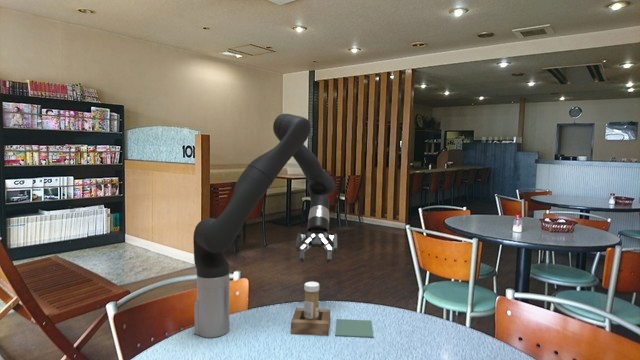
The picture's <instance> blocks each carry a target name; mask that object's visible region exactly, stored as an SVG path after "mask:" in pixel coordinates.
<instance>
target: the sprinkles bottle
mask: <svg viewBox="0 0 640 360" xmlns="http://www.w3.org/2000/svg"><path fill="white" fill-rule="evenodd" d="M303 287H304V307H303V308H304V316H305V320H318V319H319V309H320V308H319V304H320V302H319V301H320V300H319V295H320V294H319V293H320V283H319V282H317V281H306V282H305V283H304V285H303Z"/></svg>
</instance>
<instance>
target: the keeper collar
mask: <svg viewBox="0 0 640 360" xmlns="http://www.w3.org/2000/svg"><path fill="white" fill-rule="evenodd" d="M304 308H305V307H296V308H295V310H294V313H293V315H292V318H291V321H290V335H301V336H302V335H305V336H306V335H308V336H324V337H325V336H327V337H328V336H329V335H330V325H331V308H319V319H318V320H305V316H304Z"/></svg>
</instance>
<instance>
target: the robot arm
mask: <svg viewBox="0 0 640 360" xmlns="http://www.w3.org/2000/svg"><path fill="white" fill-rule="evenodd" d="M272 125H273V126H272V130H273V134H274V135H275V137H276V138H277V139H278V140H279V142H278V144H276V145H275V146H274V147H273V148H271V149H270V150H269V151H266V152H265V153H263V154H260V155H259V156H258V157H256V158H254V159H253V160H252V161H251V162H249V164H248V165H247V166H246V167H245V169H244V170H243V172H242V173H241V174H240V175H239V177H238V179H237V180H236V184H235V185H234V189H233V193H232V195H231V198H230V200H229V202H228V205H226V207H225V208H224V210H223V211H222V212H221V213H220V214H219V215H218V217H217V218H214V217H213V218H212V217H207V218H203V219H202V220H200V221H199V222H198V223H197V224H196V226H195V229H194V232H193V241H192V242H193V259H194V260H193V261H194V266H195V269H196V300H195V301H194V303H193V305H194V307H193V308H194V309H193V310H194V318H193V319H194V326H193V327H194V335H198V336H200V337H202V338H218V337H221V336H224V335H226V334H228V332H230V324H231V323H230V264H229V262H228V260H227V258H226V256H225V255H226V254H225V251H227V250H228V249H229V248H230V247H231V246H232V244H233V243H234V241H235V240H236V238H237V236H238V234H239V233H240V231H241V230H242V228H243V226H244V224H245V222H246V220H247V219H248V218H249V216H250V214H251V213H252V211H254V209H255V207H256V206H257V204H258V203H259V202H260V200H261V199H262V197H263V196H264V195H265V194H266V192H267V191H268V190H269V188H270V187H271V186H272V184H273V183H274V182H275V180H276V178H277V177H278V175H279V174H280V173H281V171H282V170H283V168H285V166H286V165H287V164H288V162H289V161H290V160H291V158H293V159H294V160H295V162H296V164H298V166H299V168H300V170H301V171H302V173H303V175H304V176H305V179H306V180H307V181H308V183H307V190H308V194H309V199H310V207H309V213H308V220H307V229H306V230H307V231H306V233H305V234H302V233H301V232H298V233H297V235H296V240H295V241H296V242H295V251H296V252H299V260H300V261H301V263H304V262H305V255H306V251H307V250H308V249H310V248H311V247H312V248H316V247H317V248H322V247H323V248H324V250H326V251H327V254H326V255H327V257H326V262H327V264H330V262H332V258H333V257H332V255H333V253H338V234H337V233H333V235H331V234H329V228H330V199H329V197H327V196H328V195H332V194H333V193H334V192H335V191H336V182H335V180H334V179H333V177H332V176H331V175H330V174H329V173H328V172H327V171H326V170H324V168H323V167H322V165H321V162H320V161H319V159H318V157H317V156H316V155H315V154H314V152H312V151H311V150H310V149H309V148H308V147H307V146H306V145H305V142H306V141H307V140H308V138H309V136H310V133H311V129H312V125H311V122H310V120H309V119H307V118H306V117H303V116H300V115H296V114H290V113H280V114H279V115H277V116H276V118H274V121H273V124H272ZM304 239H305V241H304ZM330 240H331V242H332V243H333V246H331V245H330V243H329V241H330ZM302 241H304V243H303V244H302Z"/></svg>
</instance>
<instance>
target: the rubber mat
mask: <svg viewBox="0 0 640 360" xmlns="http://www.w3.org/2000/svg"><path fill="white" fill-rule="evenodd" d="M334 333H335V335H334V336H335V337H343V338H344V337H347V338H348V337H349V338H367V339H374V331H373V323H372V320H371V319H370V320H368V319H364V320H362V319H346V318H342V319H341V318H336V321H335V332H334Z"/></svg>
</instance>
